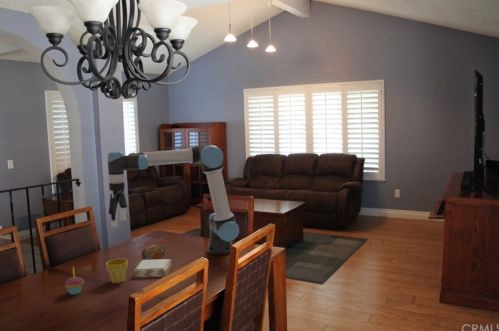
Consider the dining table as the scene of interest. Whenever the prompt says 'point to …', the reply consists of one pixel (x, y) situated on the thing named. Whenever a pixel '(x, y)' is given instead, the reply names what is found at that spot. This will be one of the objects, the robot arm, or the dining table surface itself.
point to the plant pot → (117, 270)
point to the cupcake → (74, 284)
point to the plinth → (153, 268)
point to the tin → (153, 252)
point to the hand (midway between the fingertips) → (118, 223)
